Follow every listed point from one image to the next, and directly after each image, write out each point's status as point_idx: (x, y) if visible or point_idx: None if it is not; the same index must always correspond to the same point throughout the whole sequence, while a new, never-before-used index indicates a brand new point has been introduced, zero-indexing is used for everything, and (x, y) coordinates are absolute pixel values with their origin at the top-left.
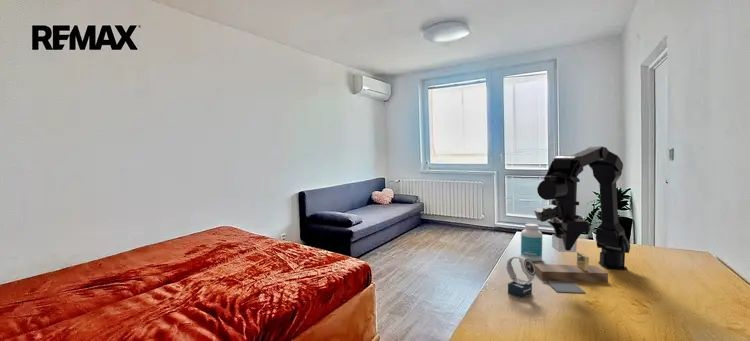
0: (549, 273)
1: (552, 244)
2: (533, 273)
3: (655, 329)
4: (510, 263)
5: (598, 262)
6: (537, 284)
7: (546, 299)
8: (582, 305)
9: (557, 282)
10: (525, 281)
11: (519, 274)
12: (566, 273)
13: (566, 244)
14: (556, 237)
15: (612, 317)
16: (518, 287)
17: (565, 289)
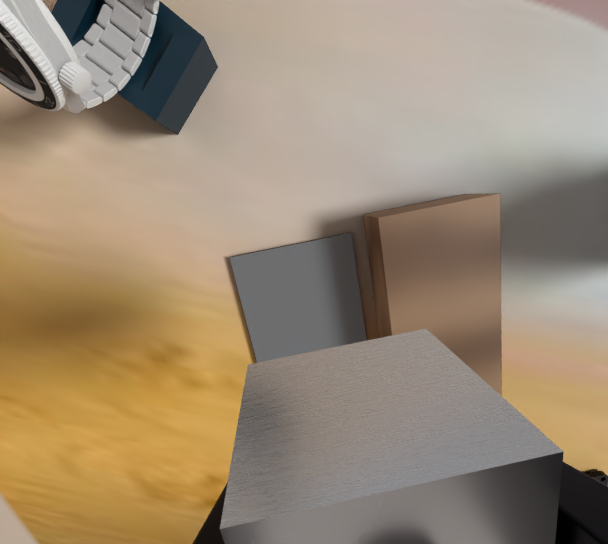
0: (379, 255)
1: (430, 347)
2: (6, 84)
3: (27, 486)
4: None
5: (601, 472)
6: (306, 184)
7: (127, 194)
8: (125, 327)
9: (342, 279)
10: (166, 82)
11: (429, 109)
12: (389, 335)
13: (207, 519)
14: (345, 488)
15: (59, 399)
16: (55, 18)
17: (264, 296)
